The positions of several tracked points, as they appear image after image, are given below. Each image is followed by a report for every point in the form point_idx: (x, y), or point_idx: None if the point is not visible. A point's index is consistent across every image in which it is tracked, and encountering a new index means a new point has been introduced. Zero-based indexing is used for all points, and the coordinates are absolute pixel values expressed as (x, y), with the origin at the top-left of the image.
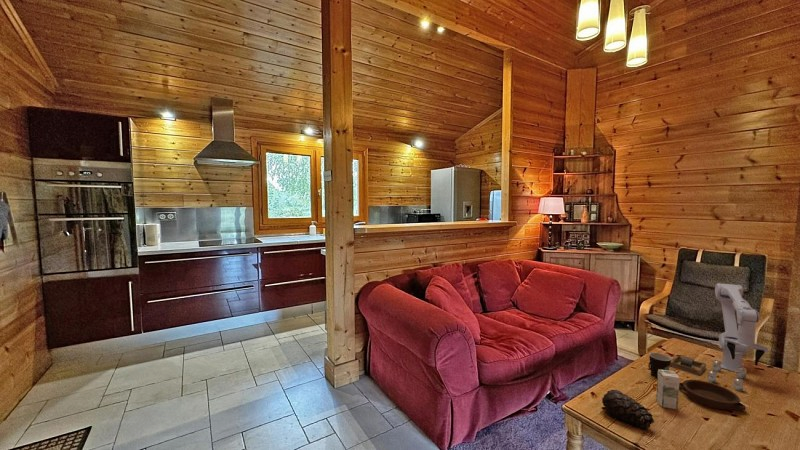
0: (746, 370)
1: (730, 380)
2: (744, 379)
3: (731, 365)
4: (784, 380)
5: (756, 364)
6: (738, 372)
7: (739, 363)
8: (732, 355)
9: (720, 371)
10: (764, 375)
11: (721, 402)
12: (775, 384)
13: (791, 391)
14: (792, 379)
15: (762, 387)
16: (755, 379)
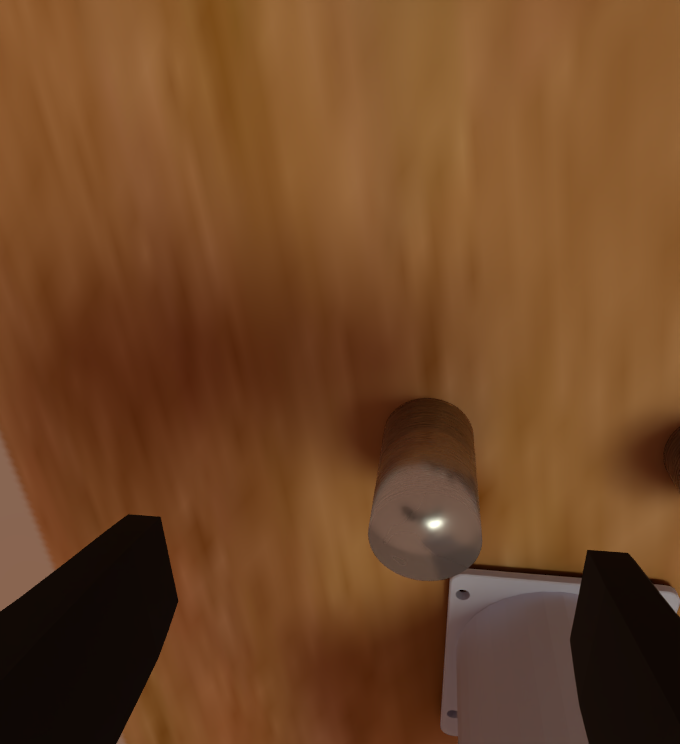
0: (370, 519)
1: (539, 231)
2: (395, 413)
3: (560, 642)
4: None
5: (111, 527)
6: (465, 460)
7: (479, 709)
8: (667, 640)
9: (671, 446)
10: (277, 667)
11: None
12: None
13: (23, 460)
14: None
15: (208, 333)
16: (312, 516)
